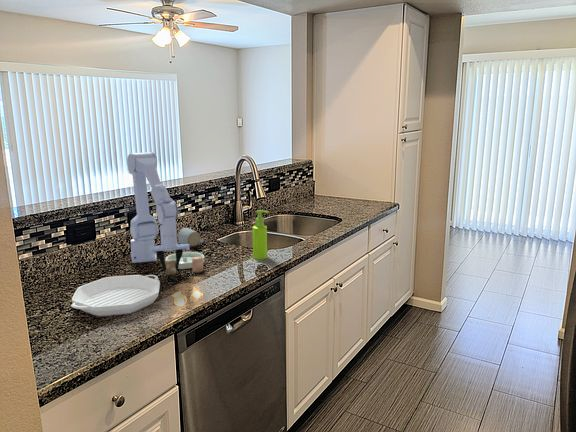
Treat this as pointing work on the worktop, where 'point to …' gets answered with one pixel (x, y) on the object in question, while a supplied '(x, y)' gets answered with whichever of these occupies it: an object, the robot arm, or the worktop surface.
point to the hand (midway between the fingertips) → (170, 269)
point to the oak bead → (170, 266)
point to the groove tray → (186, 259)
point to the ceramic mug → (189, 237)
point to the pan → (116, 295)
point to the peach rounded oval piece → (197, 264)
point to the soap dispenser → (260, 237)
